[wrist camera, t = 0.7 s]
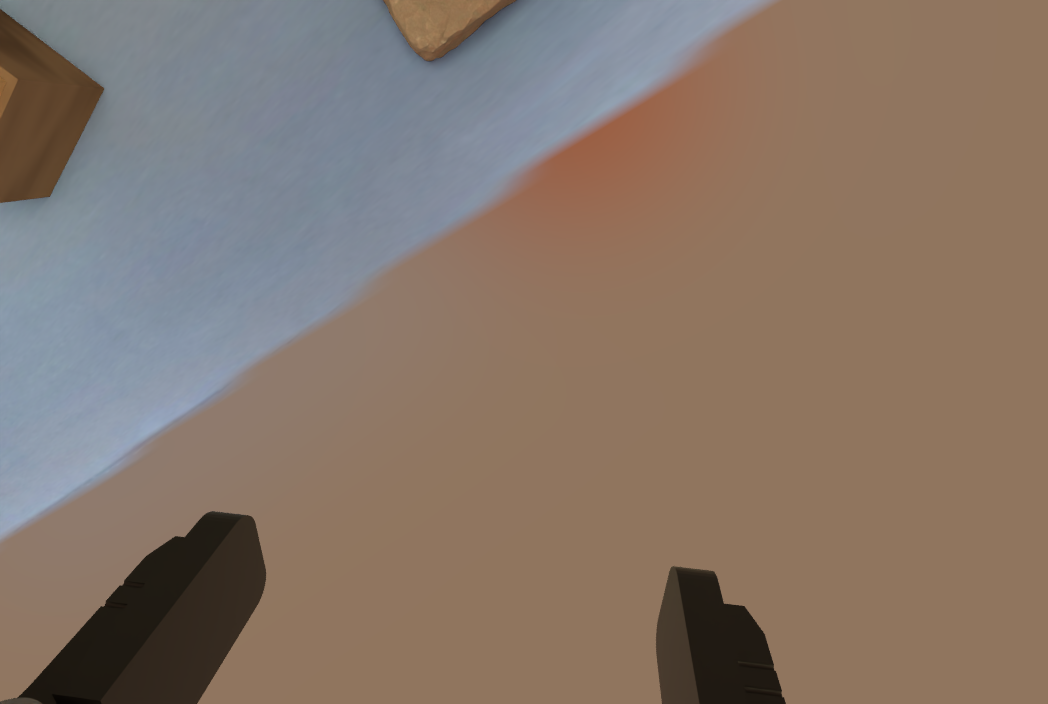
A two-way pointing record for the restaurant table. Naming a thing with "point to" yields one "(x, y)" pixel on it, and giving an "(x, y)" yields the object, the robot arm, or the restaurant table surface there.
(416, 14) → the brick
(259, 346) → the restaurant table surface
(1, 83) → the oak top block
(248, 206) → the restaurant table surface
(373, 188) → the restaurant table surface
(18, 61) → the walnut base block
